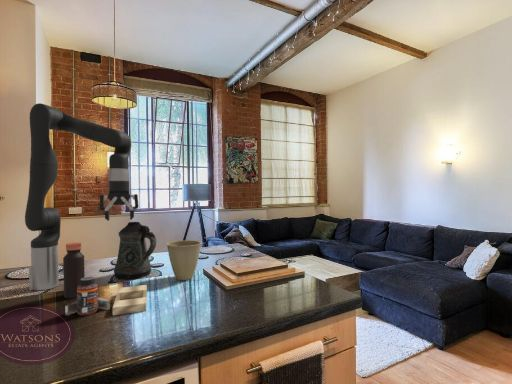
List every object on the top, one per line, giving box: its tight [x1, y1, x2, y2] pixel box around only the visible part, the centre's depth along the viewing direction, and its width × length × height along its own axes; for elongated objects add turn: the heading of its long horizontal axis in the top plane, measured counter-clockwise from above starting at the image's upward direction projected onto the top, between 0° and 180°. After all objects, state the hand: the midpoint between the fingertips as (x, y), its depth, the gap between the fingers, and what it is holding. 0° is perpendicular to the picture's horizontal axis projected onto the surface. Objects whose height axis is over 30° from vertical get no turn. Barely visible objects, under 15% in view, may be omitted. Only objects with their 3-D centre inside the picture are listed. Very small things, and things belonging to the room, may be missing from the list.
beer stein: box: [113, 221, 157, 281], centre depth 138 cm, size 16×19×25 cm
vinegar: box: [62, 242, 86, 300], centre depth 111 cm, size 7×7×20 cm
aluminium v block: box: [64, 297, 111, 316], centre depth 99 cm, size 13×8×3 cm, turn 110°
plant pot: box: [166, 239, 202, 281], centre depth 132 cm, size 15×15×16 cm
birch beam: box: [112, 284, 148, 316], centre depth 104 cm, size 10×20×2 cm, turn 20°
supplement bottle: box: [76, 276, 99, 316], centre depth 95 cm, size 6×6×11 cm
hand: (119, 219), depth 118 cm, fingers open, 8 cm apart
